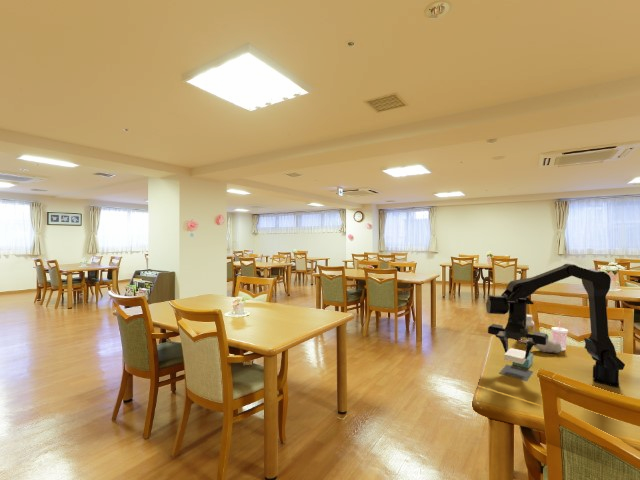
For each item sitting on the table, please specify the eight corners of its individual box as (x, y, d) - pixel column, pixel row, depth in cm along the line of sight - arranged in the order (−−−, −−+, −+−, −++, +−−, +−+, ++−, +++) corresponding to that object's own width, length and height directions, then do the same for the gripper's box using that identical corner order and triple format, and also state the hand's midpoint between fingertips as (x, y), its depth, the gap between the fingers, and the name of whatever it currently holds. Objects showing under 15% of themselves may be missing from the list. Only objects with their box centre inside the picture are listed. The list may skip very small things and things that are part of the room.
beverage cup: (553, 350, 146) (554, 319, 146) (548, 345, 152) (549, 315, 152) (569, 351, 144) (571, 320, 144) (564, 346, 150) (565, 316, 150)
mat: (533, 372, 123) (533, 371, 123) (527, 382, 115) (527, 381, 115) (506, 365, 129) (506, 364, 129) (498, 374, 121) (498, 373, 121)
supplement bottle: (516, 341, 157) (516, 315, 157) (519, 338, 162) (520, 312, 161) (532, 345, 152) (533, 317, 152) (535, 341, 157) (536, 315, 157)
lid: (528, 357, 123) (528, 351, 123) (522, 364, 117) (522, 358, 117) (510, 352, 127) (510, 347, 127) (504, 359, 121) (504, 354, 121)
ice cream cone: (520, 349, 147) (558, 357, 143) (526, 344, 142) (565, 353, 138) (519, 336, 150) (556, 344, 147) (525, 331, 145) (563, 339, 142)
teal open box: (532, 363, 131) (533, 353, 131) (528, 370, 125) (528, 359, 125) (517, 359, 135) (517, 350, 135) (512, 365, 129) (512, 356, 129)
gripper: (483, 314, 122) (482, 355, 122) (543, 324, 109) (542, 370, 110) (492, 309, 130) (491, 347, 131) (549, 318, 117) (547, 361, 118)
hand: (516, 356), depth 122 cm, fingers closed on lid, 6 cm apart
